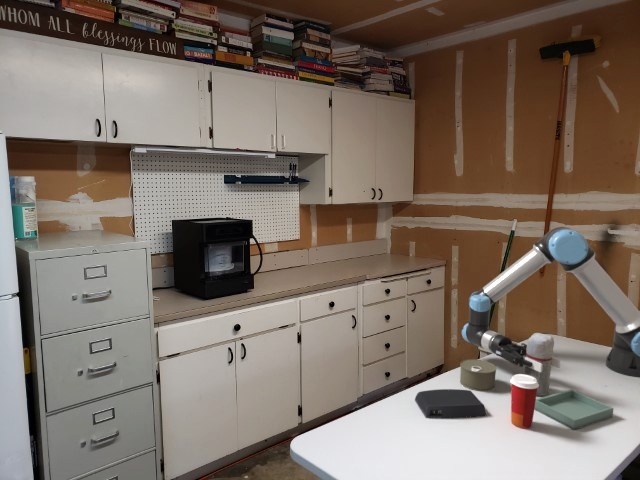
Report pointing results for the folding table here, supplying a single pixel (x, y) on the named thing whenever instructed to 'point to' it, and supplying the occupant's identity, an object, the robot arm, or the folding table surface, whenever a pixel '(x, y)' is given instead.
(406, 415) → the folding table surface
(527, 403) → the paper cup
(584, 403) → the tray
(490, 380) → the can
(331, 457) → the folding table surface
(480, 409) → the external hard drive
